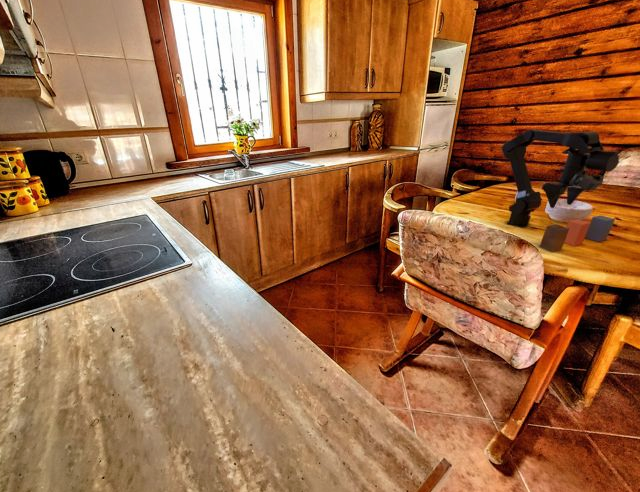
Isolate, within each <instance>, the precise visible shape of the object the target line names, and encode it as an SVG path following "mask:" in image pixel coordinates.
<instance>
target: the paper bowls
mask: <svg viewBox="0 0 640 492" xmlns="http://www.w3.org/2000/svg"><path fill="white" fill-rule="evenodd" d="M593 210H594V206H593V205H592V204H591V203H587V202H585V201H580V200H575V201H574V202H573V203H572V204H571V205H568V204H567V198H559V199H558V201H557V203H556V205H555V207H554V208H551V207H550V205H549V201H548V200H547V203H546V206H545V208H544V212H545V213H546V214H547V215H549V218H550V219H552V220H554V221H556V222H560V223H566V224H567V223H568V221H569V220H575V219H578V220H582V221H583V220H586V219H588V218H590V217H591V214H592V212H593Z"/></svg>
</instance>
